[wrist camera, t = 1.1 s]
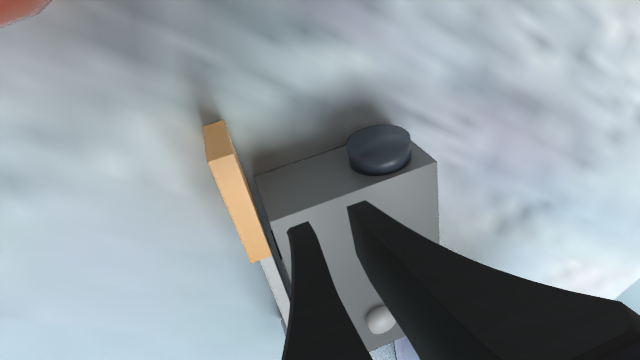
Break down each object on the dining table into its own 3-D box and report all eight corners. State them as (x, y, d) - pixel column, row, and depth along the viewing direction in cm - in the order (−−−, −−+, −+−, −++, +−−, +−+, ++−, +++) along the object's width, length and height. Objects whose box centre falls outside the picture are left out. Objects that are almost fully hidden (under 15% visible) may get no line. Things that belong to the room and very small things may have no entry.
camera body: (409, 276, 28) (446, 327, 24) (303, 319, 26) (324, 381, 23) (394, 111, 20) (444, 148, 16) (246, 160, 19) (263, 213, 15)
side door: (298, 319, 26) (314, 366, 23) (282, 325, 26) (296, 373, 23) (223, 119, 17) (233, 153, 14) (199, 127, 17) (204, 163, 14)
